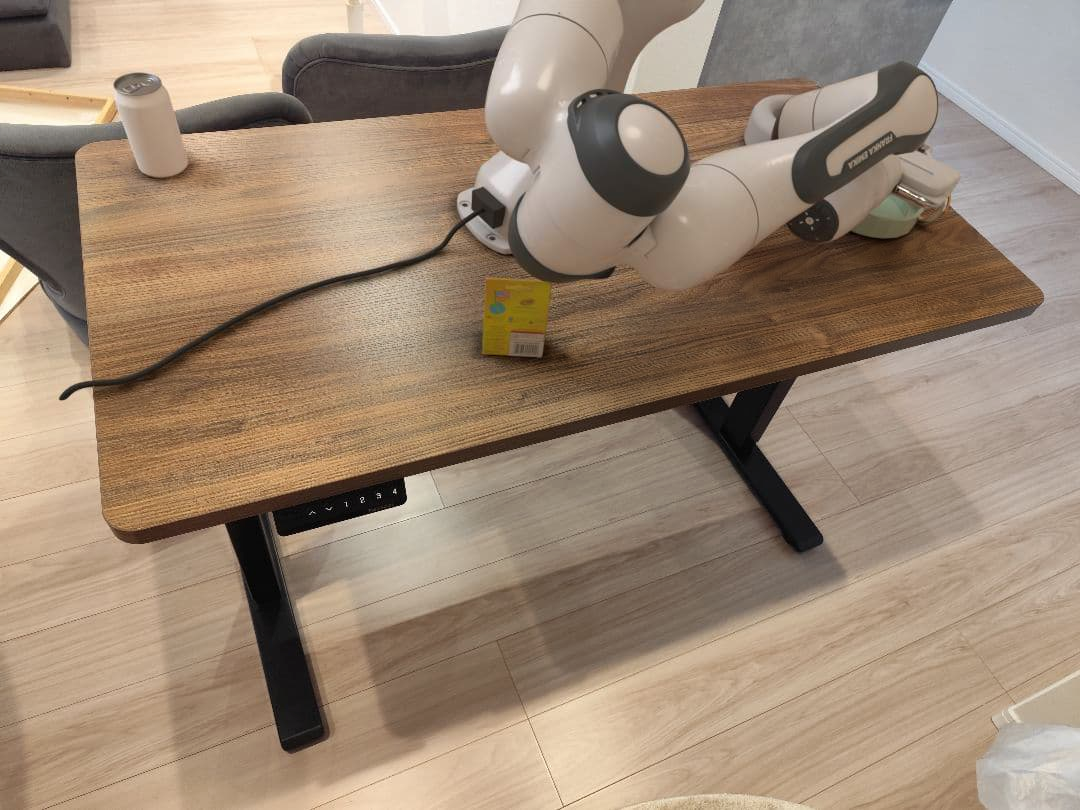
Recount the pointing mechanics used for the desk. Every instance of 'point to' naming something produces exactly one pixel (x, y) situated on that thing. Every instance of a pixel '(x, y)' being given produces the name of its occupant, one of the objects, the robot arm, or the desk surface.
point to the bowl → (889, 219)
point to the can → (150, 124)
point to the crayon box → (515, 316)
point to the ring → (938, 214)
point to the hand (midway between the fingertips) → (904, 140)
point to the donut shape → (764, 119)
